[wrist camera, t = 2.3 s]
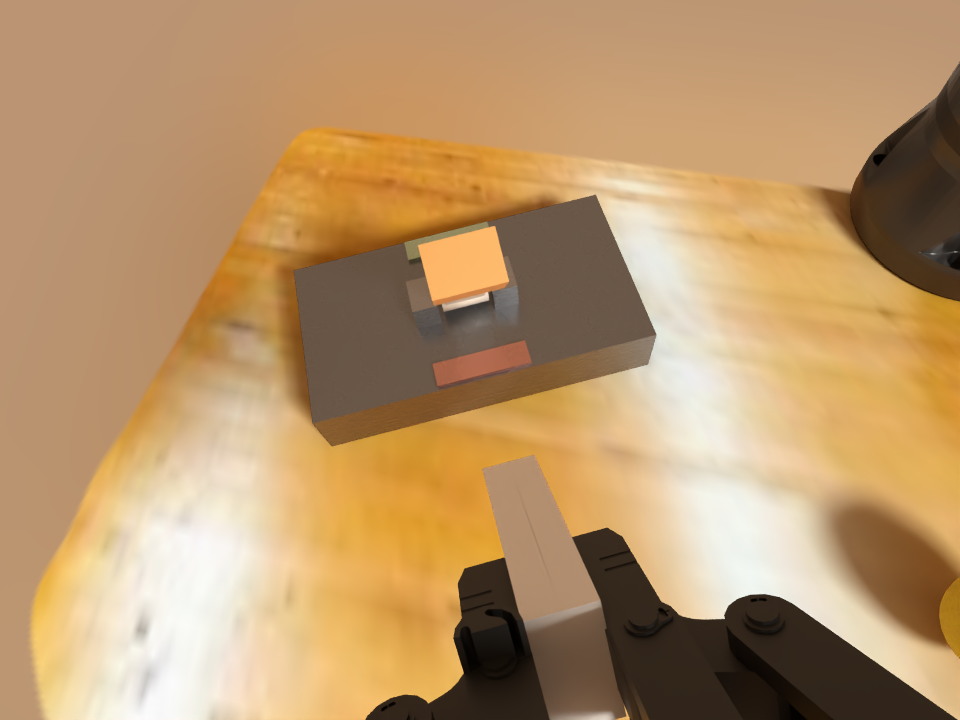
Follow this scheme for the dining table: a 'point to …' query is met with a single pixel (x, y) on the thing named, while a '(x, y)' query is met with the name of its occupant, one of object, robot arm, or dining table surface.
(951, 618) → the lemon
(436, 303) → the lever
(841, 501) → the dining table surface
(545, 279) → the box
